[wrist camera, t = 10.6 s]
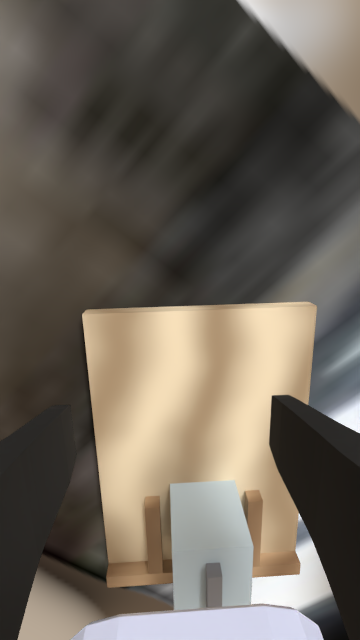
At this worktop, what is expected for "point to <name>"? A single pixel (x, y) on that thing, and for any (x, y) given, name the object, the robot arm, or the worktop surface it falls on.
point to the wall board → (193, 422)
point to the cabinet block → (210, 546)
